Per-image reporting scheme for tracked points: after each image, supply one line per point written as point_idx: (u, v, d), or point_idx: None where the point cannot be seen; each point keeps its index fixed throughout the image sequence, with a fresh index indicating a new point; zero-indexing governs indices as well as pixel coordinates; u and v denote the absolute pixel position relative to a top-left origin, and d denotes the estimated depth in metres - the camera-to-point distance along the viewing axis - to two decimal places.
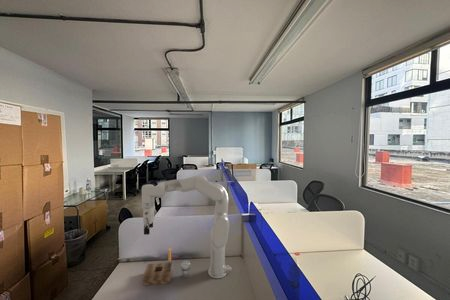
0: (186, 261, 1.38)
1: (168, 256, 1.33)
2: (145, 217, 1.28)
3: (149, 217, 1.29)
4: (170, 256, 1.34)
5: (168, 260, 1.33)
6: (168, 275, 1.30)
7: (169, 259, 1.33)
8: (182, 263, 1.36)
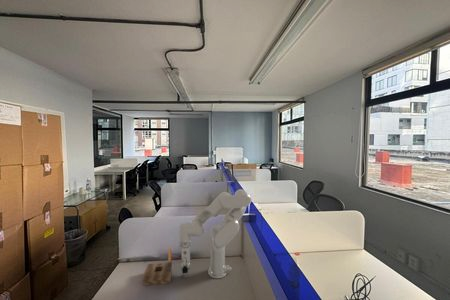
0: (186, 261, 1.38)
1: (168, 256, 1.33)
2: (184, 257, 1.31)
3: (187, 256, 1.31)
4: (170, 256, 1.34)
5: (168, 260, 1.33)
6: (168, 275, 1.30)
7: (169, 259, 1.33)
8: (182, 263, 1.36)
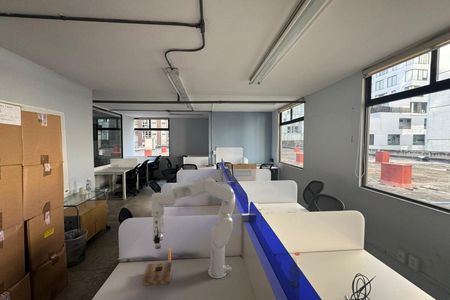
0: None
1: (168, 256, 1.33)
2: (155, 227, 1.27)
3: (159, 226, 1.28)
4: (170, 256, 1.34)
5: (168, 260, 1.33)
6: (168, 275, 1.30)
7: (169, 259, 1.33)
8: None
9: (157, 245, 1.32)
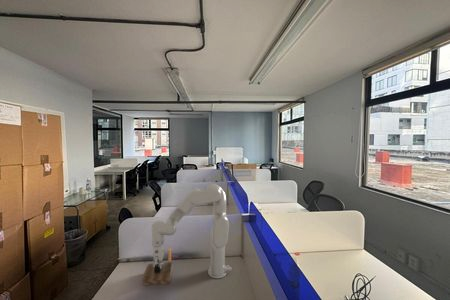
0: None
1: (168, 256, 1.33)
2: (155, 256, 1.29)
3: (159, 255, 1.29)
4: (170, 256, 1.34)
5: (168, 260, 1.33)
6: (168, 275, 1.30)
7: (169, 259, 1.33)
8: None
9: None
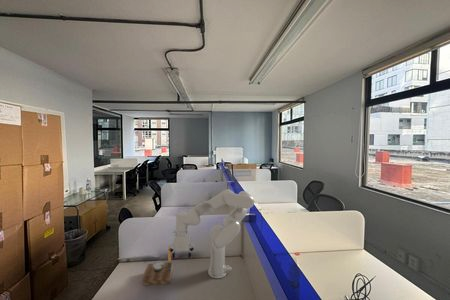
0: (159, 262, 1.36)
1: (168, 256, 1.33)
2: None
3: (173, 243, 1.33)
4: (170, 256, 1.34)
5: (168, 260, 1.33)
6: (168, 275, 1.30)
7: (169, 259, 1.33)
8: (155, 264, 1.34)
9: None
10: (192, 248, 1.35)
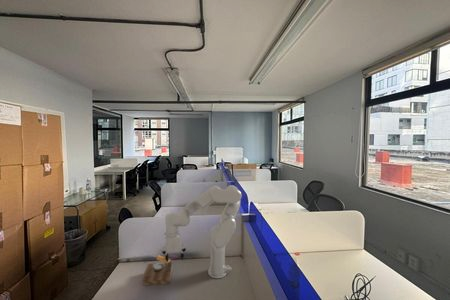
0: (159, 262, 1.36)
1: (162, 261, 1.33)
2: None
3: (165, 245, 1.32)
4: (164, 259, 1.34)
5: (166, 262, 1.33)
6: (168, 275, 1.30)
7: (165, 261, 1.33)
8: (155, 264, 1.34)
9: None
10: (184, 249, 1.35)
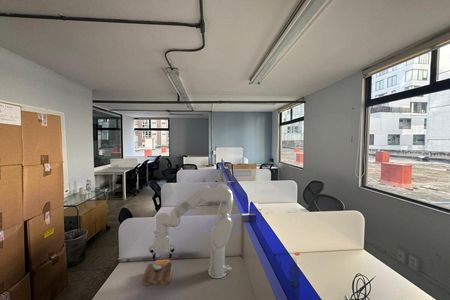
0: None
1: (162, 264, 1.33)
2: None
3: (153, 245, 1.31)
4: (163, 261, 1.34)
5: None
6: (168, 275, 1.30)
7: (165, 263, 1.33)
8: (155, 264, 1.34)
9: None
10: (173, 249, 1.34)
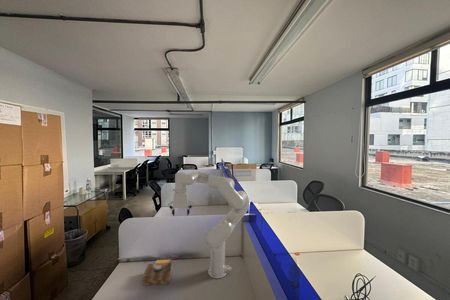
0: None
1: None
2: None
3: (173, 201, 1.43)
4: (163, 261, 1.34)
5: None
6: (168, 275, 1.30)
7: (165, 263, 1.33)
8: (155, 264, 1.34)
9: None
10: (190, 206, 1.45)
